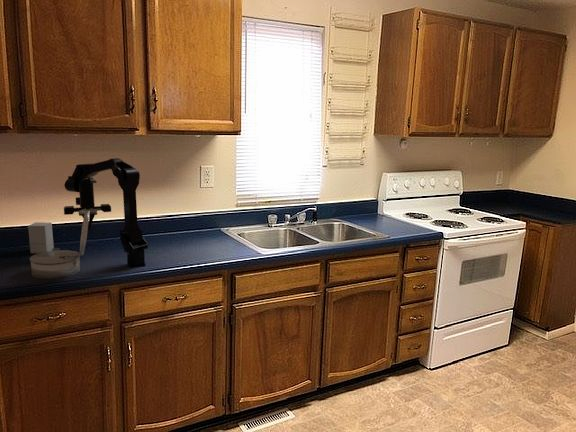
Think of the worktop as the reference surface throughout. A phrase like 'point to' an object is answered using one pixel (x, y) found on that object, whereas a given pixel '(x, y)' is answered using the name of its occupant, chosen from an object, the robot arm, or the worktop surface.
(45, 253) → the cooker pot
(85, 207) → the robot arm
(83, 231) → the lid
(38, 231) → the supplement box
